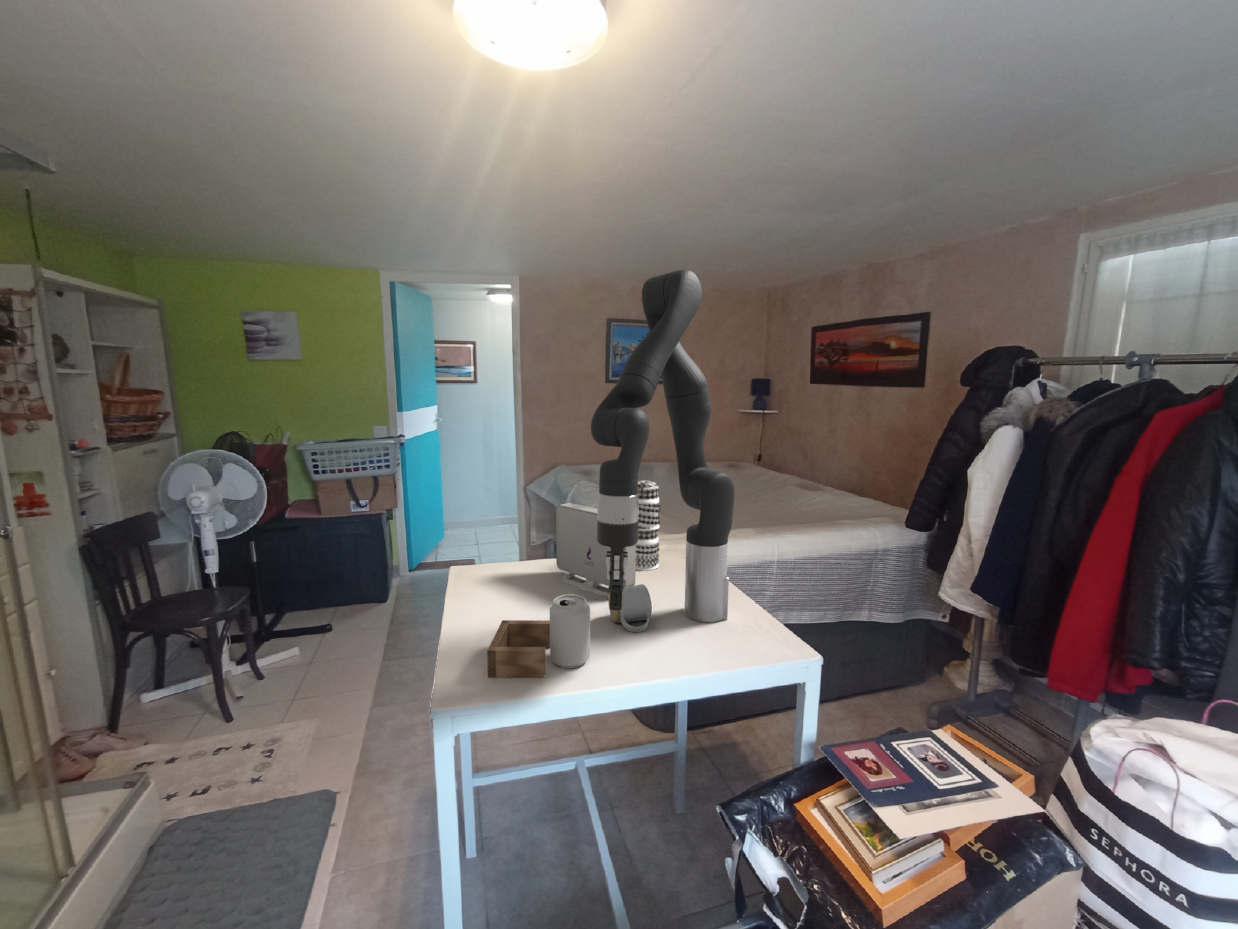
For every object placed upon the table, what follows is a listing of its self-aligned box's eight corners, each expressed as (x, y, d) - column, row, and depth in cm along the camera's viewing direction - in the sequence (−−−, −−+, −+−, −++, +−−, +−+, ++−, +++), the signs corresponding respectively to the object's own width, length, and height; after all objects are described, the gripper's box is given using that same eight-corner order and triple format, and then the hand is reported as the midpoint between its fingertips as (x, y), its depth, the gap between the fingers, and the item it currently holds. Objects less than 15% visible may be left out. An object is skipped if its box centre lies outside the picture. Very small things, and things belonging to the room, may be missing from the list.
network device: (550, 576, 144) (549, 505, 141) (573, 569, 150) (573, 500, 147) (619, 601, 127) (619, 521, 124) (642, 592, 133) (643, 515, 130)
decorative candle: (634, 572, 148) (635, 485, 144) (624, 562, 157) (625, 479, 153) (664, 569, 150) (666, 483, 147) (653, 559, 159) (655, 478, 156)
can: (551, 651, 102) (550, 592, 101) (589, 650, 103) (589, 591, 101) (548, 671, 95) (548, 608, 93) (590, 670, 95) (590, 607, 94)
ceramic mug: (606, 615, 119) (606, 583, 118) (640, 610, 122) (640, 579, 120) (622, 636, 109) (622, 601, 108) (658, 631, 112) (659, 596, 110)
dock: (552, 644, 105) (552, 620, 104) (544, 677, 93) (544, 651, 92) (502, 644, 105) (502, 620, 104) (487, 677, 92) (487, 650, 92)
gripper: (639, 526, 89) (636, 624, 91) (637, 510, 102) (634, 595, 104) (595, 525, 89) (593, 623, 91) (598, 509, 102) (597, 595, 104)
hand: (615, 608), depth 98 cm, fingers closed
